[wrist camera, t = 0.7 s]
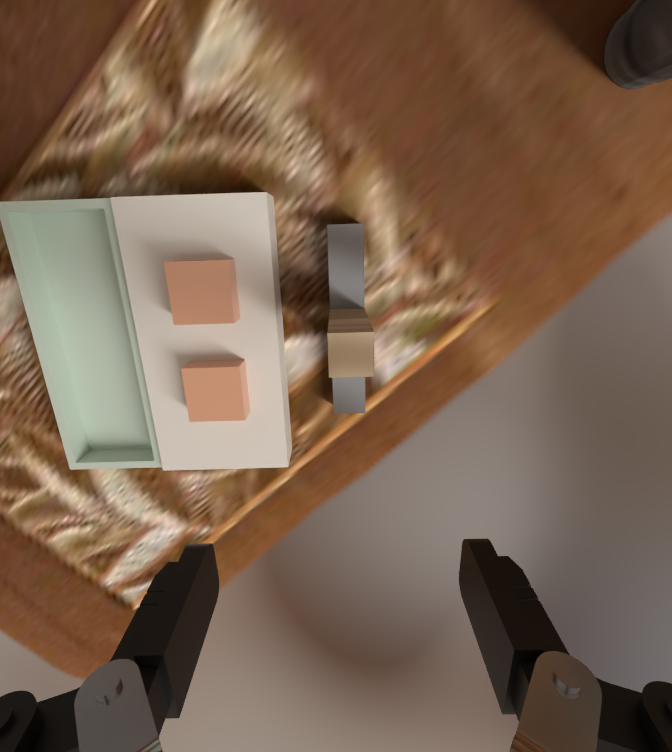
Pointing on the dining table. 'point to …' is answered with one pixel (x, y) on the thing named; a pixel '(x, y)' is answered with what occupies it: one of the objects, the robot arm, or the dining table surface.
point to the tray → (83, 329)
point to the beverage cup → (641, 45)
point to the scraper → (348, 319)
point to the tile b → (216, 390)
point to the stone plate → (209, 341)
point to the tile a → (203, 291)
